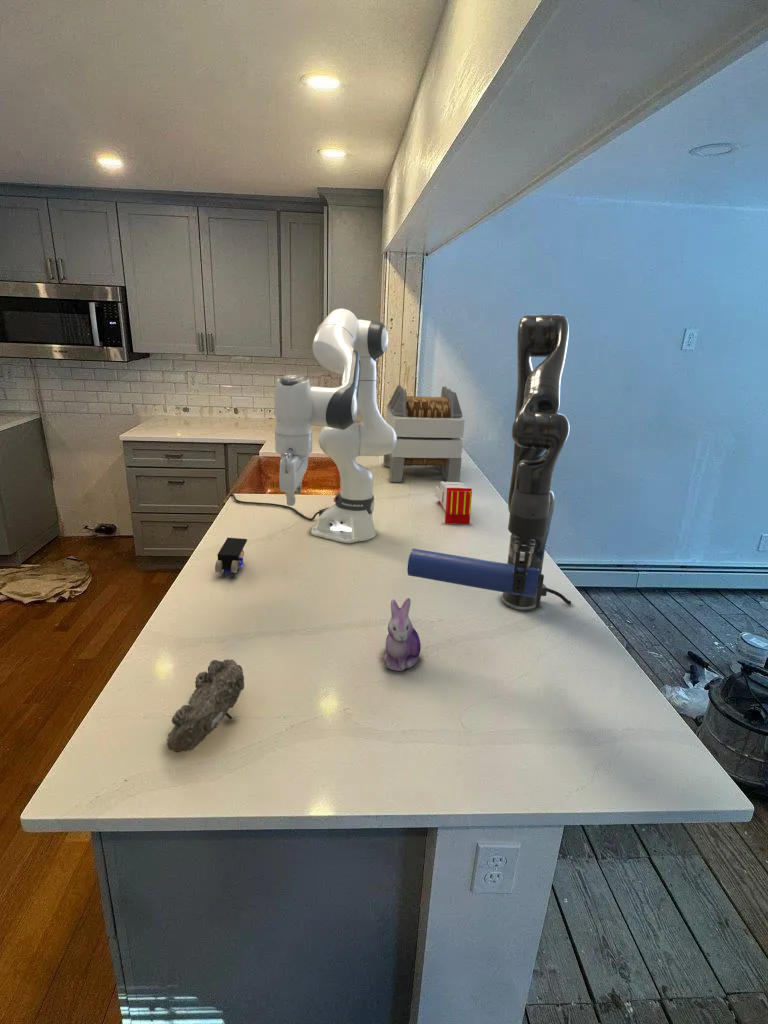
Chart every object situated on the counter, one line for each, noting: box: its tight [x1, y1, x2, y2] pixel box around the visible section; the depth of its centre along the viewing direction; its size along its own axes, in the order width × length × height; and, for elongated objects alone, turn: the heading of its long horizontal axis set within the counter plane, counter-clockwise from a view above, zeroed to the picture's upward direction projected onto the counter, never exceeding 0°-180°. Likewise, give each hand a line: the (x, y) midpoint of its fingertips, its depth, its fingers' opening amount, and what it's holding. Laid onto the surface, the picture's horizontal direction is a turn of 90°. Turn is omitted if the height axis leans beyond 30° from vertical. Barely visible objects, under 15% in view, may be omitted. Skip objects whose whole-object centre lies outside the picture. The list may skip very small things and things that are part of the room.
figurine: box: [383, 597, 422, 672], centre depth 125 cm, size 9×10×15 cm
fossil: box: [166, 658, 245, 754], centre depth 106 cm, size 22×10×15 cm
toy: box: [434, 481, 473, 525], centre depth 222 cm, size 12×13×30 cm
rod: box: [406, 548, 539, 598], centre depth 123 cm, size 27×6×6 cm, turn 73°
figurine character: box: [214, 537, 248, 578], centre depth 166 cm, size 7×8×15 cm
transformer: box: [383, 384, 465, 483], centre depth 268 cm, size 34×33×41 cm
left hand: (294, 498), depth 141 cm, fingers open, 8 cm apart
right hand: (519, 584), depth 120 cm, fingers closed on rod, 6 cm apart
